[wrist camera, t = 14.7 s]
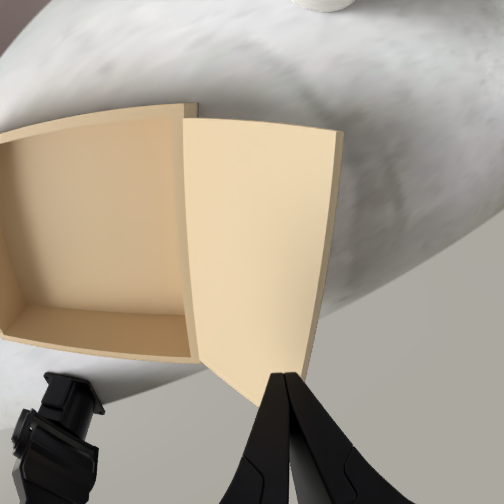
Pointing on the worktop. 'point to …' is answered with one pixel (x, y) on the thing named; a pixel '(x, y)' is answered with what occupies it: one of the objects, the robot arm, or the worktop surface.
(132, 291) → the carton
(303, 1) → the drinking glass
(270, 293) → the flap
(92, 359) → the worktop surface
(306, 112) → the worktop surface
